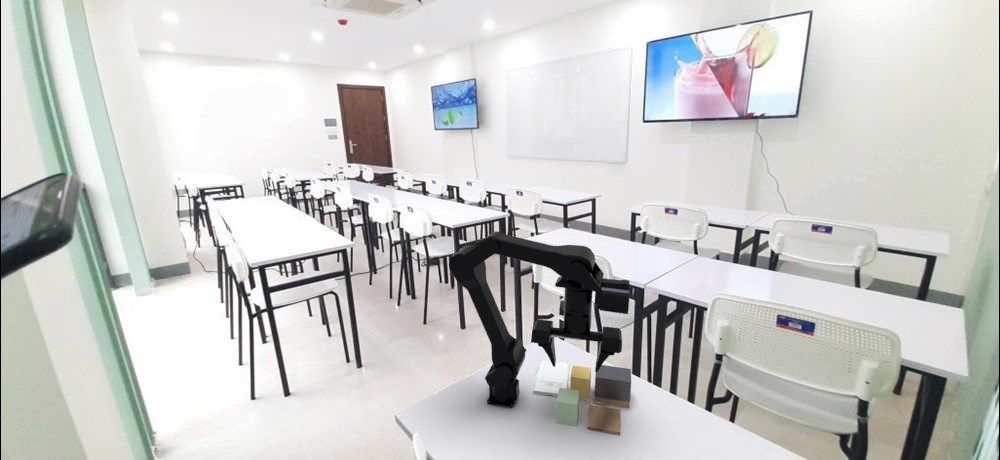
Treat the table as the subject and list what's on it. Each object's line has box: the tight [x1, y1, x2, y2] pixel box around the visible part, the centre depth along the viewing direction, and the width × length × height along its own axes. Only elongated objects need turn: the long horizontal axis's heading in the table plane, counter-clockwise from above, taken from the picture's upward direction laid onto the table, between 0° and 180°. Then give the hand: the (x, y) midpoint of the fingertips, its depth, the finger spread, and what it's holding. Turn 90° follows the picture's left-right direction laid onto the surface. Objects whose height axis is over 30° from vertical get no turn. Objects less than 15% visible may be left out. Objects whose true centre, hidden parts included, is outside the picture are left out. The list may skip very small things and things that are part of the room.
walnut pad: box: [586, 404, 622, 436], centre depth 91 cm, size 7×7×1 cm
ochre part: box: [569, 364, 592, 401], centre depth 99 cm, size 4×4×6 cm
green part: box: [555, 388, 580, 428], centre depth 92 cm, size 4×4×6 cm
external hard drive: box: [532, 359, 570, 398], centre depth 105 cm, size 2×8×12 cm
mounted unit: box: [593, 364, 632, 408], centre depth 97 cm, size 8×5×7 cm, turn 74°
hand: (575, 368), depth 91 cm, fingers open, 9 cm apart
